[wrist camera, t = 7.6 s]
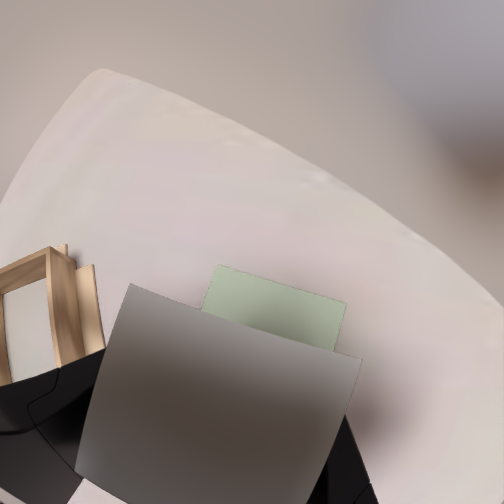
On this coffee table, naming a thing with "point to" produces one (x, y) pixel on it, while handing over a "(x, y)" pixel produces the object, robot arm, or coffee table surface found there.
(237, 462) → the gray block
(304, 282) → the coffee table surface
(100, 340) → the wooden square frame
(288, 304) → the green mat
